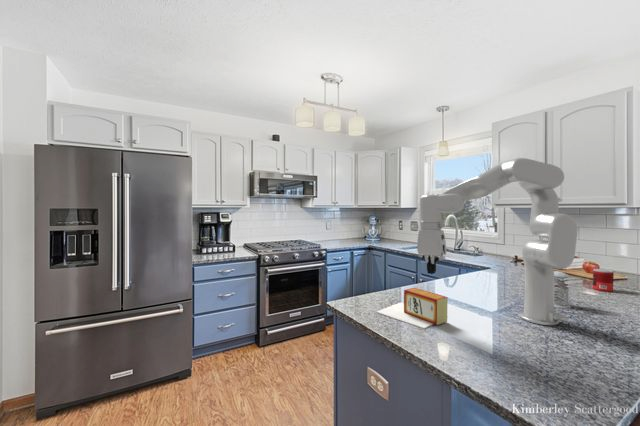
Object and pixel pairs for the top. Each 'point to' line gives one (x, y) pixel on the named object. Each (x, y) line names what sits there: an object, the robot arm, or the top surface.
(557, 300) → the french press
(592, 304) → the top surface
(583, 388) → the top surface
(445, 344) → the top surface
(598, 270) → the canned food
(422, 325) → the mat
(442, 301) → the baking soda box
